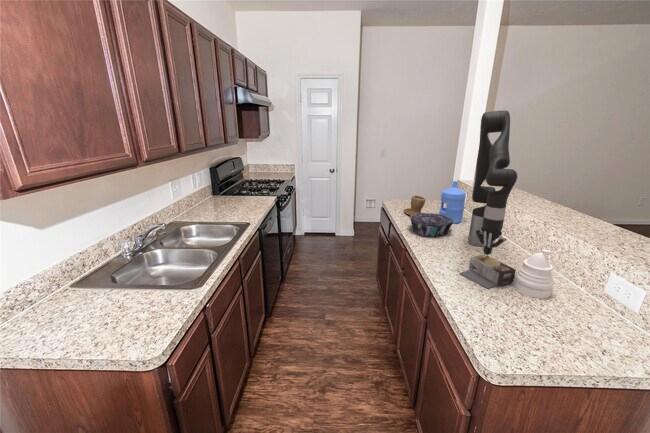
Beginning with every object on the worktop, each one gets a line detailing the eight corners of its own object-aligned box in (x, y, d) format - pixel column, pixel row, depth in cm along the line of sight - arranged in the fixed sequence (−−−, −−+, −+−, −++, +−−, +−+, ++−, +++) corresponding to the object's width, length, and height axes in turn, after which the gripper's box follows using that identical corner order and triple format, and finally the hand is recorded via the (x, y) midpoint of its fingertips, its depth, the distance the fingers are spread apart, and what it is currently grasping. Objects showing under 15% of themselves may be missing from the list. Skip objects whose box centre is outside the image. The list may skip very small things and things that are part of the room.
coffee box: (485, 253, 134) (516, 269, 119) (483, 265, 136) (514, 282, 121) (470, 256, 131) (500, 273, 116) (468, 269, 133) (497, 286, 118)
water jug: (463, 219, 203) (469, 180, 195) (460, 225, 191) (466, 184, 182) (440, 215, 211) (445, 178, 203) (436, 221, 199) (440, 182, 190)
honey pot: (544, 284, 121) (554, 245, 115) (555, 301, 109) (567, 259, 104) (509, 279, 125) (517, 241, 119) (517, 295, 114) (527, 254, 108)
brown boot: (426, 217, 207) (428, 197, 203) (411, 218, 205) (413, 198, 201) (416, 211, 222) (418, 193, 217) (402, 212, 220) (404, 194, 215)
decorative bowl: (459, 234, 180) (461, 219, 178) (435, 242, 164) (438, 226, 161) (423, 224, 200) (425, 210, 197) (399, 230, 183) (401, 215, 180)
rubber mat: (480, 267, 135) (480, 266, 135) (509, 281, 123) (509, 280, 123) (459, 274, 130) (459, 272, 129) (487, 289, 117) (487, 288, 117)
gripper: (515, 219, 114) (507, 258, 119) (485, 211, 125) (479, 246, 130) (503, 222, 111) (495, 262, 116) (473, 213, 122) (467, 250, 127)
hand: (486, 254), depth 123 cm, fingers closed
